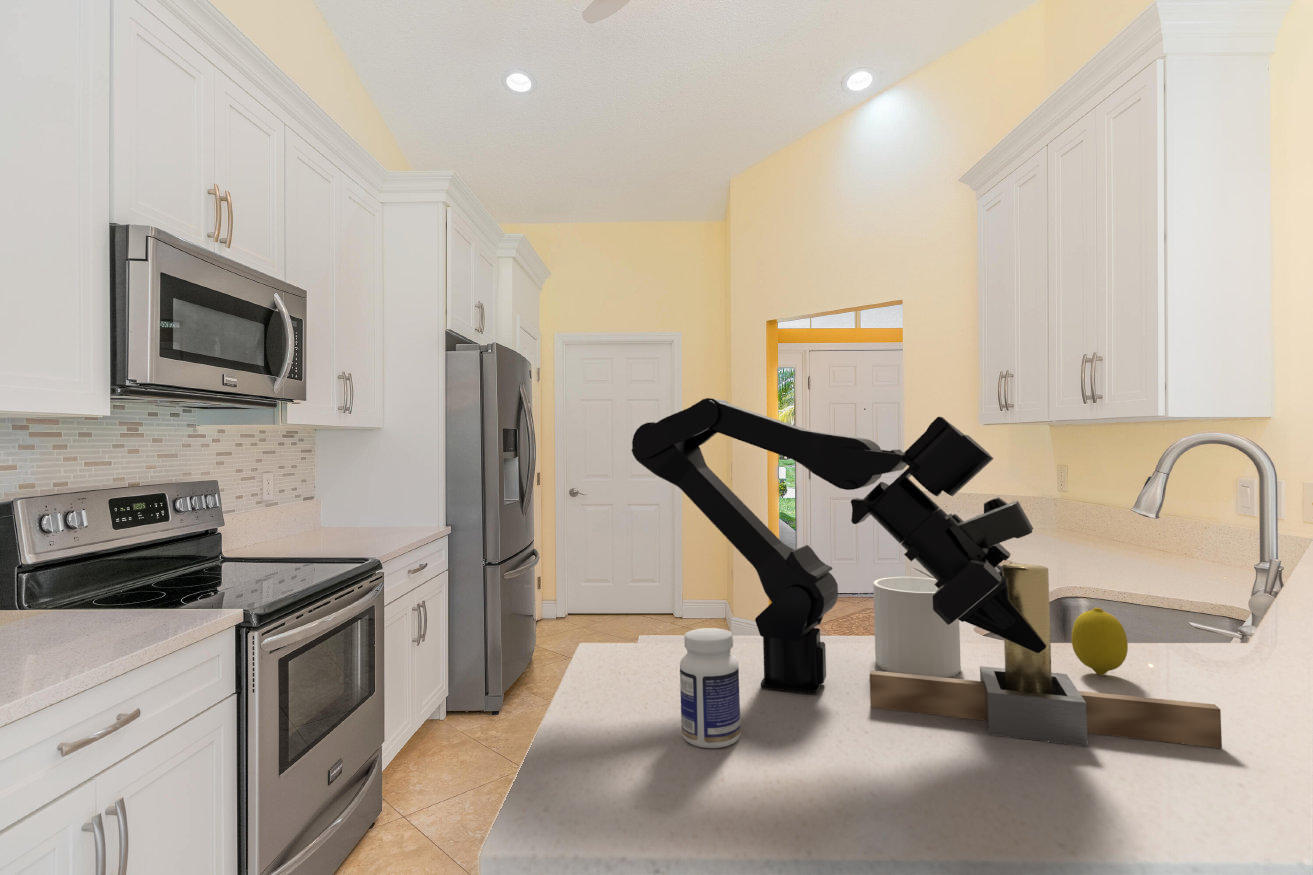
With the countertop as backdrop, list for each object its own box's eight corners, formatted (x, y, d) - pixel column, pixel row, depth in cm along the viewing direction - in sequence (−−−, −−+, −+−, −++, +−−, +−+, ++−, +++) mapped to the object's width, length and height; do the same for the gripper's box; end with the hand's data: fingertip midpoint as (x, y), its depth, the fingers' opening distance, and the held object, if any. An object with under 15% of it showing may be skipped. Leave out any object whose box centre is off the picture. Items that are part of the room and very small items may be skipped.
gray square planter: (989, 734, 62) (988, 692, 62) (981, 703, 69) (979, 665, 69) (1087, 746, 59) (1086, 702, 59) (1068, 713, 66) (1066, 673, 67)
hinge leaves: (870, 706, 69) (869, 673, 69) (871, 702, 70) (870, 670, 70) (1222, 748, 58) (1220, 709, 58) (1216, 742, 59) (1214, 704, 59)
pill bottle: (746, 728, 64) (743, 627, 65) (733, 754, 59) (731, 644, 59) (690, 721, 66) (688, 623, 67) (673, 745, 61) (671, 639, 61)
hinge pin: (1016, 716, 62) (1012, 570, 63) (999, 700, 66) (995, 563, 67) (1060, 717, 62) (1056, 570, 62) (1040, 701, 66) (1036, 563, 66)
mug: (979, 674, 78) (977, 589, 78) (907, 683, 76) (904, 595, 76) (914, 645, 90) (912, 571, 91) (849, 652, 88) (847, 576, 88)
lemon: (1138, 684, 74) (1135, 613, 74) (1084, 681, 75) (1082, 612, 75) (1114, 668, 79) (1112, 602, 80) (1064, 666, 81) (1062, 601, 81)
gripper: (967, 477, 59) (1121, 613, 53) (986, 470, 75) (1105, 574, 69) (880, 558, 63) (1013, 693, 57) (915, 535, 79) (1022, 639, 73)
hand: (1043, 644), depth 64 cm, fingers closed on hinge pin, 4 cm apart
